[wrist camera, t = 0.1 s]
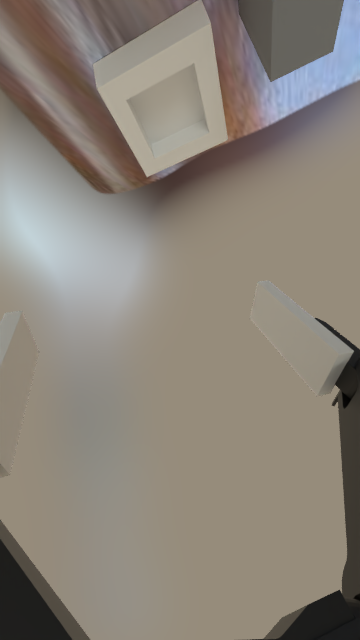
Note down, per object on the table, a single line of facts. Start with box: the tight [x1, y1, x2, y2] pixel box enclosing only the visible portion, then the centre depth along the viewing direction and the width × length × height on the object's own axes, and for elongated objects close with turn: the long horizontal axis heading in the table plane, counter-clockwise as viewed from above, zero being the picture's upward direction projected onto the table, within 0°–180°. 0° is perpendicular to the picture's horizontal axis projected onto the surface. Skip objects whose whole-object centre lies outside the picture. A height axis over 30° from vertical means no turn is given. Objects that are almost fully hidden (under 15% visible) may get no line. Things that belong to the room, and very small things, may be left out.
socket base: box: [93, 0, 228, 177], centre depth 35 cm, size 14×14×4 cm
